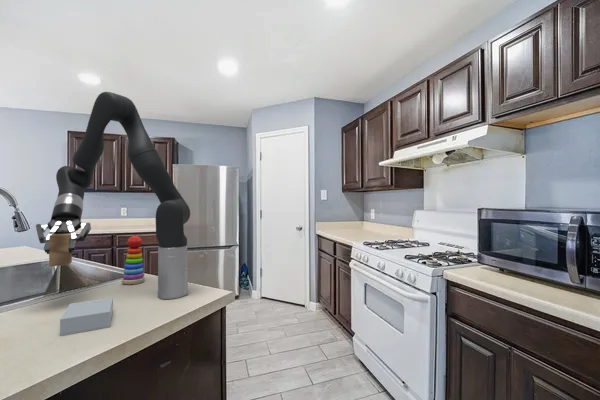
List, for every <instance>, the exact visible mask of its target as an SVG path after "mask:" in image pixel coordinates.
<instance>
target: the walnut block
mask: <svg viewBox="0 0 600 400" xmlns="http://www.w3.org/2000/svg"><path fill="white" fill-rule="evenodd" d="M70 239H71V234H70V233H69V234H54V235H50V236H49V254H48V261H49V262H48V267H57V266H69V265H71V263H72V262H73V254H72V253H73V251H72V252H71V253H69V250H68V248H69V244H70Z"/></svg>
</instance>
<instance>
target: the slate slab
mask: <svg viewBox="0 0 600 400" xmlns="http://www.w3.org/2000/svg"><path fill="white" fill-rule="evenodd" d="M113 312H114V297H109V298H101V299H95V300H87V301H79V302H73V303H69V305H68V306H67V308H66V309H65V311H64V313H63V314H62V316H61V317H60V319H59V336H60V337H61V336H67V335H74V334H78V333H84V332H89V331H95V330H101V329H105V328H110V326H111V322H112V317H113Z"/></svg>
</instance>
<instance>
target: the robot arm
mask: <svg viewBox="0 0 600 400" xmlns="http://www.w3.org/2000/svg"><path fill="white" fill-rule="evenodd" d="M92 106H93V107H92V109H91V113H90V116H89V119H88V123H87V126H86V129H85V133H84V135H83V137H82V140H81V141H80V144H79V146H78V147H77V149H76V151H75V153H74V155H73V156H72V162H73V164H74V165H76V166H77V167H78V168H76V167H74V166H70V165H63V166H62V167H60V168H59V169H58V170H57V171H56V177H55V180H56V184H57V187H58V188H57V189H58V194H57V196H56V197H57V198H56V200H55V202H54V206H53V209H52V214H51V218H50V220H49V222H48V223H47V224H43V225H42V224H40V223H37V224H35V228H36V229H35V230H36V233H37V238H38V240H39V243H40V244H44V245H43V250H44V252H45V253H46V254H47V255H49V236H50V235H54V234H69V233H70V234H71V239H70V244H69V248H68V250H69V253H71V252H72V253H73V252H74V251H75V250H76V247H77V242H83V241H85V240H86V238H87V237H88V235H89V233H90V231H91V230H92V225H91V223H90V222H86V223H82V221H81V220H82V215H83V211H84V197H85V190H87V189H89V188H90V187H91V185H92V183H93V177H94V173H95V168H96V166H97V164H98V162H99V160H100V158H101V157H102V155H103V153H104V149H105V140H104V133H105V130H106V128H107V126H108V125H109V123H110V122H111V121H113V122H118V123H119V124H120V125H121V126H122V128H123V130H124V131H125V134H126V136H127V139H128V143H127V144H128V145H127V155H128V159H129V161H130V163H131V165H132V166H133V169H134V171H135V172H136V174H137V175H138V177H140V179H141V180H142V181H143V182H144V184H146V185H147V186H148V187H149V189H150V190H151V191H152V192H153V193H154V194H155V196H156V197H157V199H158V200H159V203H160V204H159V205H158V206H157V208H156V211H155V237H156V240H157V243H158V247H157V251H158V254H157V298H158V299H162V300H171V299H172V300H174V299H177V298H178V299H179V298H182V297H184V296H188V294H189V292H188V291H189V267H188V237H187V236H186V235H185V231H184V229H185V228H184V224H186V223H187V222H188V221H189V220H190V217H191V210H190V206H189V205H188V203H187V201H186V200H185V199H184V198H183V196H182V194H181V193H180V192H179V190H178V189H177V187H176V186H175V184H174V182H173V180H172V177H171V175H170V173H169V172H168V170H167V168H166V166H165V164H164V162H163V160H162V158H161V156H160V154H159V152H158V151H157V149H156V147H155V146H154V144H153V141H152V140H151V137H150V136H149V133H148V132H147V131H146V128H145V126H144V124H143V122H142V118H141V116H140V114H139V111H138V109H137V107H136V104H135V103H134V102H133V101H132V99H130V98H128V97H127V96H124V95H120V94H118V93H114V92H111V91H103V92H101V93H100V94H99V95H97V97H96V99H95V100H94V103H93V105H92ZM79 168H80V169H79ZM47 229H49V233H48V235H47V236H45V235H44V233H46V231H47ZM79 229H81V231H80V233H79V234H78V235H76V232H77V231H78V230H79Z"/></svg>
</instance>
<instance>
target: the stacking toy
mask: <svg viewBox="0 0 600 400" xmlns="http://www.w3.org/2000/svg"><path fill="white" fill-rule="evenodd" d="M142 243H143V239H142V237H140V236H138V235H133V236H130V237H129V238H128V239H127V246H128V249H126V252H127V254H126V255H125V256H126V259H125V264H124V266H123V268H124V269H123V274H122V280H121V283H122V284H123V285H126V284H127V285H128V286H131V284H133V285H137V284H141V283H143V282H145V272H144V270H145V269H144V267H143V266H144V263H143V261H144V259H143V253H142V248H141V245H143V244H142Z"/></svg>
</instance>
